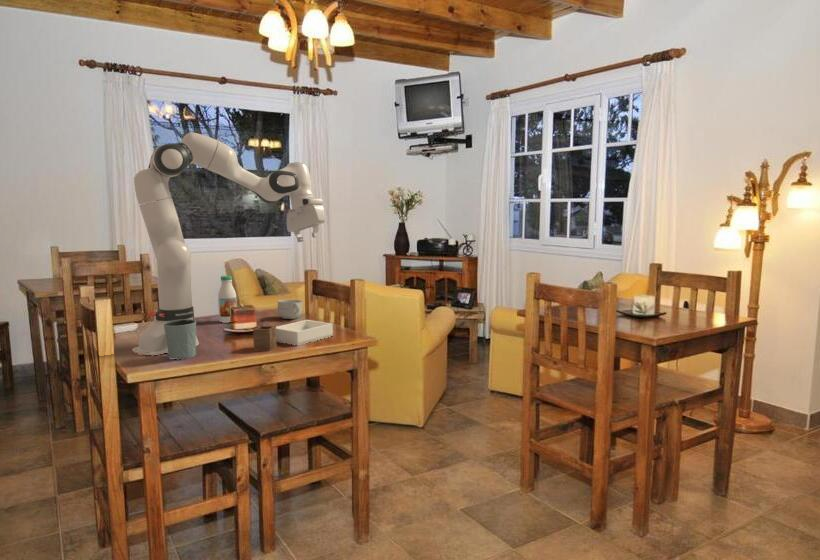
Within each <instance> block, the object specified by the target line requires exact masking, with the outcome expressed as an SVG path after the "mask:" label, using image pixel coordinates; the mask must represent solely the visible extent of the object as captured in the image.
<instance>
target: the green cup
mask: <svg viewBox="0 0 820 560" xmlns="http://www.w3.org/2000/svg"><path fill="white" fill-rule="evenodd" d="M164 329H165V335H166V340H167V346H168V354H167V355H168V358H169V357H170V358H177V359H183V358H191V357H193V358H195V357H196V356H195V355H196V354H197V350H196V347H197V346H196V343H195V342H196V336H197V320H196V319H194V320H191V319H180V320H173V321H168V322H166V323H164ZM194 356H195V357H194ZM191 359H192V358H191Z"/></svg>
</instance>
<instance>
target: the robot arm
mask: <svg viewBox="0 0 820 560" xmlns="http://www.w3.org/2000/svg"><path fill="white" fill-rule="evenodd" d="M148 164H149V165H148V168H144V169H142V170H140V171H138V172H137V173H136V174H135V175H134V177H133V184H134V186H133V187H134V191H135V195H136V196H135V197H136V200H137V203H138V206H139V210H140V212H141V215H142V219H143V222H144V224H145V228H146V231H147V233H148V238H149V242H150V243H151V248H152V250H153V254H154V257H155V259H156V263H157V264H156V267H157V269H156V271H157V293H158V305H159V306H158V307H159V308H158V309H157V310H156V311H155V310H150V311H148V315H149V317H155V318H154V320H153V322H151V323H150V324H149V325H148V326H147V327H146V328H145V329H144V330H143V331H142V332H141V333H140V335H139V338H138V339H139V340H138V346H136V347H133V348H132V350H131V352H132V351H134V352H136V353H141V354H150V355H151V354H152V355H154V354H161V353H167V352H168V346H167V340H166V335H165V329H164V323H166V322H168V321H173V320H180V319H191V320H195V311H194V306H193V299H192V259H191V257H192V256H191V255H192V254H191V250H190V248H189V247H188V245H187V244H186V243H185V239H184V238H185V237H184V235H183V232H182V227H181V224H180V219H179V216H178V212H177V209H176V206H175V204H174V201H173V197H172V193H171V192H170V187H169V181H170V179H171V178H173V177H177V176H179V175H181V174H182V173H183V172H184V171H185V170H186V169H187V168H188V167H189V165H197V166H200V167H201V168H204V169H206V170H208V171H210V172H212V173H215V174H217V175H220V176H222V177H224V178H225V179H227V180H229V181H231V182H233V183H235V184H236V185H238V186H240V187H243V189H247V191H250V192H252V193H253V194H254V195H256V197H258V198H259V199H260V200H261V201H262V202H264V203H265V204H266V203H267V204H272V205H273V204H277V203H278V202H279V201H281V200H282V199H283V198H284V197H285V196H289V199H290V205H291V208H290V209H288V211H287V213H286V230H287V232H288V233H293V235H295V237H296V241H297V243H302V242H304V237H303V236H302V235H301V231H303V230H306V229H309V228H312V230H313V231H312V232H311V235H312V236H311V237H312V238H318V237H319V230H320V225H322V224H324V223H325V221H326V213H325V208H324V205H323V204H324V201H323V199H322V198H315V197H314V194H313V192H312V186H313V185H312V179H311V173H310V171H309V168H308V167H307V165H306V164H304V163H302V162H299V161H298V162H290V163H288V164H287V165H286V166H284V167H283V168H281V169H277V170H274V171H272V172H271V173H270V174H268V175H267V176H266V177H260V176H258V175H256V174H254V172H253V173H252V172H250V171H249V170H246V169H245V168H243V167H242V166H241V165H240V164H239V161H238V155H237V153H236V151H235V150H234V149H233V148H232V147H231V146H229V145H228V144H226V143H225V142H223V141H220V140H217V139H215V138H213V137H211V136H207V135H204V134H203V133H196V132H194V131H193V132H192V131H191V132H188V133H187V134H185V135H184V136H183V137H182V139H181V141H180V142H177V143H175V142H174V143H165V144H163V145H162V144H161V145H159V146H158V147H156V148H155V149H154V150H153V152H152V154H151V157H150V160H149V163H148ZM195 343H196V347H198V346H199V344H200V342H199V339H198V337H197V335H196V342H195Z"/></svg>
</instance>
